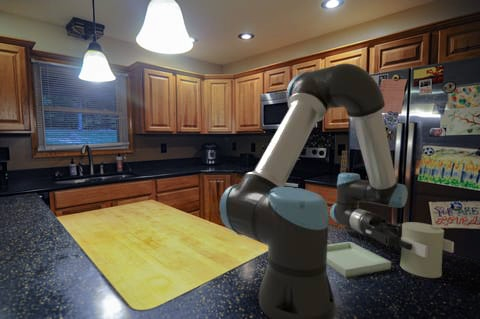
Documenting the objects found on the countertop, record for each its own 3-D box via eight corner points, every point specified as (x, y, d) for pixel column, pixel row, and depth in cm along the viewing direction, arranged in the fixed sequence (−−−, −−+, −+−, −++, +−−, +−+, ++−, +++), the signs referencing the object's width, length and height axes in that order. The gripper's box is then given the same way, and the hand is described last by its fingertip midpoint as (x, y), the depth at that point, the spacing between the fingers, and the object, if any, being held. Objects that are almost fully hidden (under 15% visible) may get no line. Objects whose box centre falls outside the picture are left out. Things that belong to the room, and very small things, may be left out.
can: (450, 280, 63) (452, 232, 62) (408, 275, 65) (411, 229, 64) (430, 263, 72) (432, 221, 72) (394, 260, 74) (396, 219, 73)
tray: (345, 277, 64) (345, 269, 64) (310, 253, 78) (310, 247, 78) (390, 269, 69) (391, 261, 68) (350, 247, 83) (350, 241, 83)
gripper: (391, 231, 89) (467, 258, 68) (341, 237, 82) (407, 270, 61) (392, 210, 88) (469, 230, 67) (341, 214, 81) (409, 239, 60)
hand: (439, 249), depth 64 cm, fingers closed on can, 9 cm apart
